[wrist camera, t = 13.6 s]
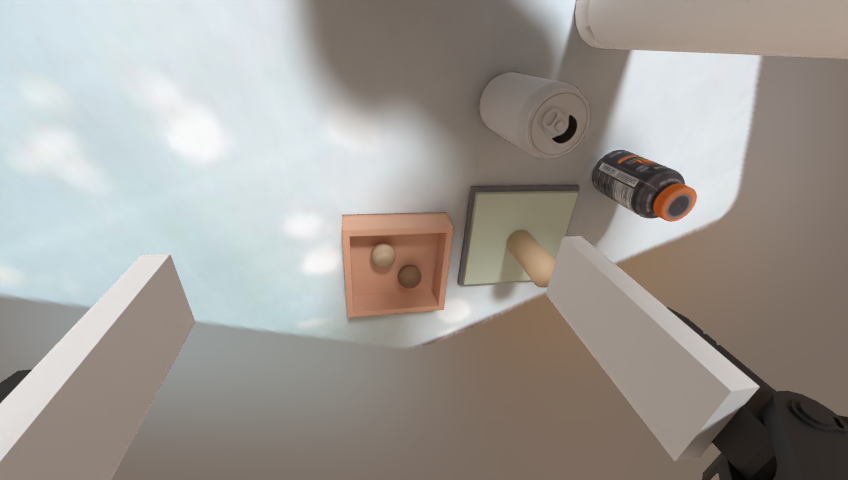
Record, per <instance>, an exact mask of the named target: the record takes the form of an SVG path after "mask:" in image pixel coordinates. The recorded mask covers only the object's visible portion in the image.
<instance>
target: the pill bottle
mask: <svg viewBox="0 0 848 480" xmlns="http://www.w3.org/2000/svg"><path fill="white" fill-rule="evenodd" d="M592 181H593V185H594V187H595V188H596V189H597V190H598V191H600V192H601V193H603V194H605V195H606V196H608V197H610V198H611V199H613V200H614V201H616V202H618V203H619V204H621V205H622V206H624V207H626V208H628V209H629V210H631V211H633V212H635V213H636V214H638V215H640V216H641V217H644V218H657V217H660V218H662V219H664V220H667V221H676V220H679V219H681V218H683V217H684V216H686V215H687V214H688V213H689V212H690V211H691V210H692V208H693V207H694V205H695V202H696V198H697V195H696V192H695V190H694V189H692V188H690V187H688V186H686V185H685V182H684V179H683V177H682V176H681V174H680V173H678V172H677V171H675V170H672V169H670V168H668V167H665V166H663V165H660V164H658V163H655V162H653V161H650V160H648V159H645V158H643V157H640V156H638V155H635V154H633V153H630V152H628V151H625V150H616V151H613V152H610V153H609V154H607V155H605V156H604V157H603V158H602V159H601V160H600V161H599V162H598V163H597V165H596V167H595V169H594V172H593V176H592Z"/></svg>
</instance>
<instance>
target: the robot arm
mask: <svg viewBox="0 0 848 480" xmlns="http://www.w3.org/2000/svg"><path fill="white" fill-rule="evenodd" d="M546 295H547V297H548V298H549V299H550V301H551V302H552V303H553V304H554V306H555V307H556V308H557V309H558V311H559V312H560V313H561V315H562V316H563V317H564V319H565V320H566V321H567V323H568V324H569V325H570V326H571V328H572V329H573V330H574V332H575V333H576V334H577V335H578V337H579V338H580V339H581V341H582V342H583V343H584V344H585V346H586V347H587V348H588V350H589V351H590V352H591V354H592V355H593V356H594V357H595V359H596V360H597V361H598V363H599V364H600V365H601V366H602V368H603V369H604V370H605V372H606V373H607V374H608V375H609V377H610V378H611V379H612V381H613V382H614V383H615V384H616V386H617V387H618V388H619V390H620V391H621V392H622V394H623V395H624V396H625V397H626V399H627V400H628V401H629V403H630V404H631V405H632V407H633V408H634V409H635V410H636V412H637V413H638V414H639V416H640V417H641V418H642V419H643V421H644V422H645V423H646V425H647V426H648V427H649V428H650V429H651V431H652V432H653V434H654V435H655V436H656V437H657V439H658V440H659V441H660V443H661V444H662V445H663V447H664V448H665V449H666V450H667V452H668V453H669V454H670V456H671V457H672V458H673V460H674V461H675V462H676V461H680V460H685V459H690V458H695V457H700V456H701V455H702V454H703V452H704V451H705V450H706V449H707V448H708V447H709V445H710V444H711V443H713V444H714V445H715V446H716V447H717V448H718V449H719V450H720V451H721V454H720V455H719V456H718V457H717V458H716V459H715V460H714V461H713V462H712V464H711V465H710V466H709V467H708V468H707V469H706V470H705V471H704V472H703V478H702V480H711V479H712V477H713V476H714V475H715V474H716V473H718V474H719V480H848V417H844V416H838V415H836V414H835V413H834V412H833V411H831V410H830V409H828V408H827V407H825V406H823V405H822V404H820V403H819V402H817V401H815V400H812V399H810V398H808V397H806V396H804V395H802V394H798V393H794V392H790V391H778V392H777V391H775V390H774V389H773V388H771V387H770V386H769V385H768V384H767V383H765V382H764V381H763V380H762V379H760V378H759V377H758V376H757V375H756V374H754V373H753V372H752V371H751V370H749V369H748V368H747V367H746V366H745V365H743V364H742V363H741V362H740V361H739V360H737V359H736V358H735V357H733V355H731V354H730V353H729V352H727V351H726V350H725V349H724V348H723V347H722V346H720V345H717V344H716V341H714V340H713V339H712V338H710V337H709V336H708V335H707V334H704V333H703V331H702V330H701V329H700V328H698V327H697V326H696V325H695V324H694V323H692V322H691V321H690V320H689V319H688V318H686V317H684V316H682V315H681V314H679V313H677V312H675V311H674V310H672V309H670V308H668V307H665V306H664V305H663V304H661V303H660V302H659V301H658V300H657V299H655V298H654V297H653V296H652V295H651V294H650V293H648V292H647V291H646V290H644V288H642V287H641V286H640V285H639V284H638V283H637V282H635V281H634V280H633V279H632V278H631V277H629V276H628V275H627V274H626V273H625V272H624V271H622V270H621V269H620V268H619V267H618V266H616V265H615V264H614V263H613V262H612V261H611V260H609V259H608V258H607V257H606V256H605V255H603V254H602V253H601V252H600V251H599V250H598V249H596V248H595V247H594V246H593V245H592V244H590V243H589V242H588V241H587V240H586V239H584V238H583V237H582V236H565V237H563V239H562V242H561V245H560V248H559V252H558V255H557V258H556V261H555V265H554V268H553V271H552V274H551V278H550V281H549V284H548V287H547V291H546ZM194 324H195V320H194V317H193V315H192V312H191V309H190V307H189V304H188V301H187V298H186V296H185V293H184V290H183V287H182V285H181V282H180V279H179V277H178V274H177V271H176V268H175V266H174V263H173V260H172V258H171V255H170V254H159V255H141V256H140V257H139V258H138V259H137V260H136V261H135V262H134V263H133V264H132V265H131V266H130V267H129V269H128V270H127V271H126V272H125V273H124V274H123V275H122V276H121V277H120V278H119V279H118V280H117V281H116V282H115V283H114V284H113V285H112V286H111V288H110V289H109V290H108V291H107V292H106V293H105V294H104V295H103V296H102V297H101V298H100V299H99V300H98V301H97V302H96V303H95V304H94V305H93V306H92V308H91V309H90V310H89V311H88V312H87V313H86V314H85V315H84V316H83V317H82V318H81V319H80V320H79V321H78V322H77V323H76V325H74V327H73V328H72V329H71V330H70V331H69V332H68V333H67V334H66V335H65V336H64V337H63V338H62V339H61V340H60V341H59V343H57V344H56V345H55V347H54V348H53V349H52V350H51V351H50V352H49V353H48V354H47V355H46V356H45V357H44V358H43V359H42V360H41V361H40V362H39V363H38V364H37V366H36V367H35V368H34V369H33V370H22V371H17V372H16V373H14V374H13V375H11V376H10V377H8V378H7V379H6V380H4V381H2V382H1V383H0V480H111V479H112V477H113V475H114V473H115V471H116V470H117V468H118V466H119V464H120V462H121V460H122V458H123V456H124V454H125V453H126V451H127V449H128V447H129V445H130V443H131V441H132V440H133V438H134V436H135V434H136V432H137V430H138V428H139V426H140V424H141V423H142V421H143V419H144V417H145V415H146V413H147V412H148V410H149V407H150V406H151V404H152V402H153V400H154V398H155V397H156V395H157V392H158V391H159V389H160V387H161V385H162V383H163V382H164V380H165V378H166V376H167V374H168V372H169V370H170V369H171V367H172V365H173V363H174V361H175V359H176V357H177V355H178V354H179V352H180V350H181V348H182V346H183V344H184V342H185V340H186V338H187V337H188V335H189V333H190V331H191V329H192V327H193V325H194Z"/></svg>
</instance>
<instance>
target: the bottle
mask: <svg viewBox="0 0 848 480" xmlns="http://www.w3.org/2000/svg"><path fill="white" fill-rule="evenodd" d="M575 20H576V28H577V30H578V32H579V34H580V36H581V38H582V39H583V40H584V41H585V42H586V43H587V44H588V45H589V46H593V47H596V48H601V49H610V48H613V49H625V50H650V51H674V52H698V53H723V54H747V55H773V56H797V57H820V58H846V59H848V0H577V1H576V9H575ZM589 26H590V27H589ZM590 28H591V29H590ZM591 30H592V32H591ZM592 33H593V34H592ZM593 35H594V36H593Z"/></svg>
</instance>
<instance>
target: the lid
mask: <svg viewBox="0 0 848 480" xmlns="http://www.w3.org/2000/svg"><path fill="white" fill-rule="evenodd" d="M578 194H579V193H578V192H576V191H517V192H476V194H475V201H474V208H473V214H472V221H471V228H470V234H469V241H468V248H467V254H466V261H465V268H464V274H463V281H462V282H463V284H464V285H471V284H485V283H500V282H514V281H528V280H532V281H533V282H534V283H535V285H536V286H538V287H548V284H549V281H550V278H551V274H552V271H553V268H554V265H555V261H556V258H557V255H558V252H559V248H560V245H561V242H562V239H563V237H565V235H566V232H567V229H568V226H569V223H570V219H571V216H572V213H573V210H574V207H575V203H576V200H577V197H578Z"/></svg>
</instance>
